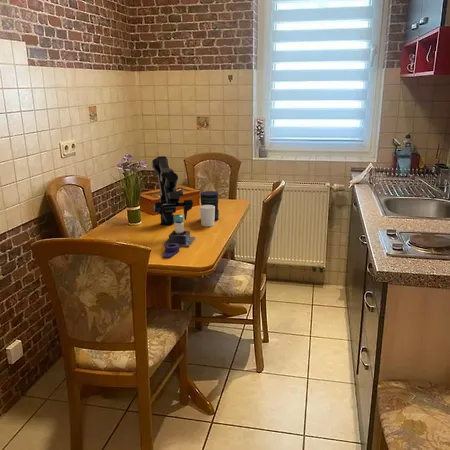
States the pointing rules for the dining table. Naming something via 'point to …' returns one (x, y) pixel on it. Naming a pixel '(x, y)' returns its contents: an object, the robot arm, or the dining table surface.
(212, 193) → the storage jar
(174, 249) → the lever
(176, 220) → the teal and silver cylinder
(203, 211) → the white cup
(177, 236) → the docking mount
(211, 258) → the dining table surface
